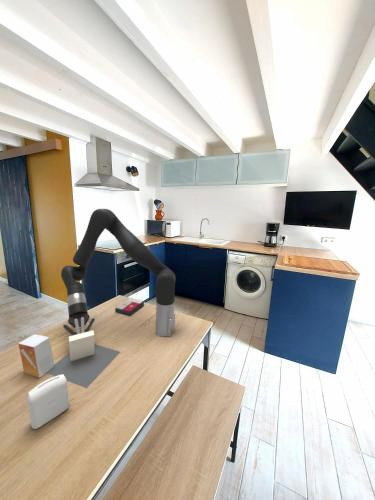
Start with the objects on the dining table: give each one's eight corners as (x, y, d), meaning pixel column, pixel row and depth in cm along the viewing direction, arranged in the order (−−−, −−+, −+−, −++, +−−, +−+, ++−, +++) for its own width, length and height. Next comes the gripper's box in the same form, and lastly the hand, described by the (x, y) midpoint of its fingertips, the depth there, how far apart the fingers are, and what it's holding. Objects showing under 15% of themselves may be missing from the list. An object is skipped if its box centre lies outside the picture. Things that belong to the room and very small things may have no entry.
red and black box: (114, 307, 126) (130, 296, 139) (115, 313, 127) (130, 302, 140) (129, 311, 122) (144, 300, 135) (129, 318, 123) (144, 306, 136)
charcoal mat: (120, 352, 93) (120, 351, 92) (86, 389, 74) (86, 388, 74) (84, 342, 98) (84, 341, 98) (44, 373, 80) (44, 372, 80)
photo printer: (33, 433, 59) (28, 397, 57) (29, 422, 62) (24, 388, 60) (71, 407, 67) (68, 375, 65) (66, 399, 70) (63, 368, 67)
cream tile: (70, 356, 87) (68, 336, 82) (93, 349, 92) (93, 330, 87) (70, 361, 85) (69, 341, 80) (94, 354, 90) (94, 334, 85)
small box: (23, 373, 79) (17, 343, 77) (40, 362, 85) (34, 333, 82) (39, 378, 77) (33, 347, 74) (55, 366, 82) (49, 336, 80)
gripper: (60, 305, 89) (63, 347, 82) (93, 299, 96) (99, 337, 89) (60, 311, 95) (63, 350, 87) (92, 304, 101) (97, 341, 94)
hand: (81, 343), depth 88 cm, fingers closed
